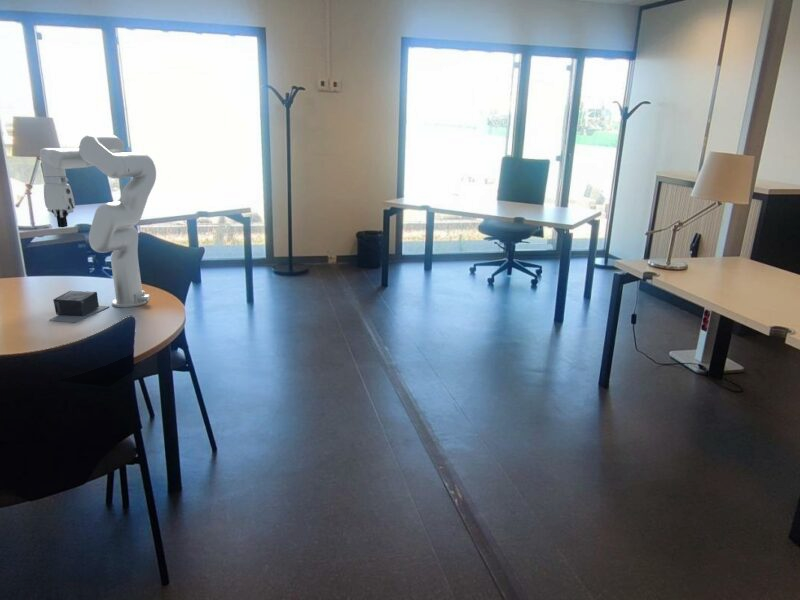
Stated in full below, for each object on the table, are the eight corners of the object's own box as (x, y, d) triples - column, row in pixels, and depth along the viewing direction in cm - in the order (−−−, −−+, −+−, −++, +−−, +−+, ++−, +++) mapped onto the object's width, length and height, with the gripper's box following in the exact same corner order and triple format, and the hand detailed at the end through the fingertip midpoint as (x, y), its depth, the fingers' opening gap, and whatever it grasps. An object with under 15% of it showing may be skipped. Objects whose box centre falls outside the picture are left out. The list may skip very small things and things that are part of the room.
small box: (55, 316, 200) (83, 317, 200) (52, 299, 198) (80, 300, 197) (73, 306, 210) (99, 307, 209) (70, 290, 208) (97, 291, 207)
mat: (109, 307, 211) (109, 306, 211) (74, 323, 194) (74, 322, 194) (85, 305, 213) (85, 304, 213) (48, 320, 196) (48, 319, 196)
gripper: (79, 180, 217) (86, 226, 223) (46, 178, 220) (53, 224, 225) (65, 182, 210) (72, 229, 216) (31, 180, 213) (39, 227, 218)
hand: (62, 226), depth 221 cm, fingers closed
